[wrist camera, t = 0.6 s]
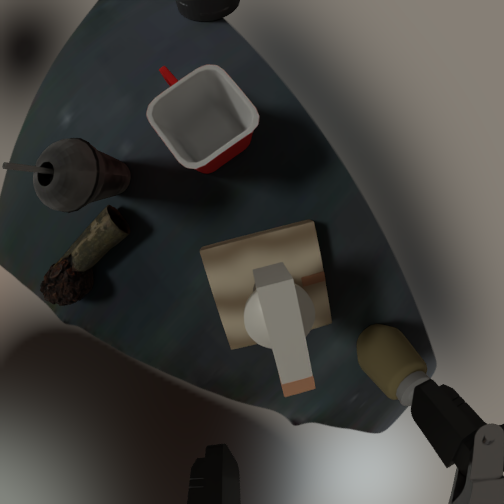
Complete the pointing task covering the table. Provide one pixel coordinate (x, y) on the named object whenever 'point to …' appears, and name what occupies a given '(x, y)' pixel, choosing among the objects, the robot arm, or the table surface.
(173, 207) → the table surface
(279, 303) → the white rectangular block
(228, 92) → the mug
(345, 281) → the table surface
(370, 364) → the squeeze bottle
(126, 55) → the table surface
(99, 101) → the table surface
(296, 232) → the post block
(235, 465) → the robot arm
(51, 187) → the beverage cup
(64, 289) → the morel mushroom
